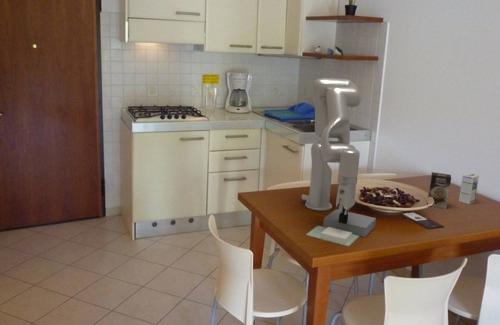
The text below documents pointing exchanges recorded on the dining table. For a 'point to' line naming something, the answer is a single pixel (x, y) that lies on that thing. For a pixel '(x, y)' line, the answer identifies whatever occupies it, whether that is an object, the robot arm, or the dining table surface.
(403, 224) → the dining table surface
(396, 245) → the dining table surface
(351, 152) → the robot arm
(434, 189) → the coffee box
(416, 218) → the chocolate bar
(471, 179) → the syrup box
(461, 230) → the dining table surface
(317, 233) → the mat
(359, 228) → the block
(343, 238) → the tile
